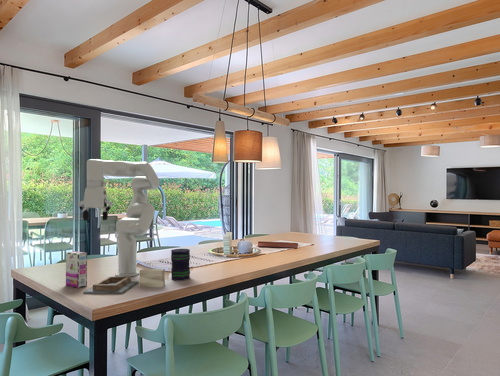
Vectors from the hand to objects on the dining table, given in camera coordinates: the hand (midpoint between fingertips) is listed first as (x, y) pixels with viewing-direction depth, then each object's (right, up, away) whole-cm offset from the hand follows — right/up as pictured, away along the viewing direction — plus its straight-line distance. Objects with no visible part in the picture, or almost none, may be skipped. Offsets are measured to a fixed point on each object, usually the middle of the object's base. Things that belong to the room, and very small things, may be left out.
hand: (95, 220), depth 175 cm
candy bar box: (-10, -33, +2) cm, 35 cm away
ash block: (+28, -32, 0) cm, 43 cm away
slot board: (+9, -32, -3) cm, 34 cm away
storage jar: (+38, -33, +16) cm, 53 cm away
